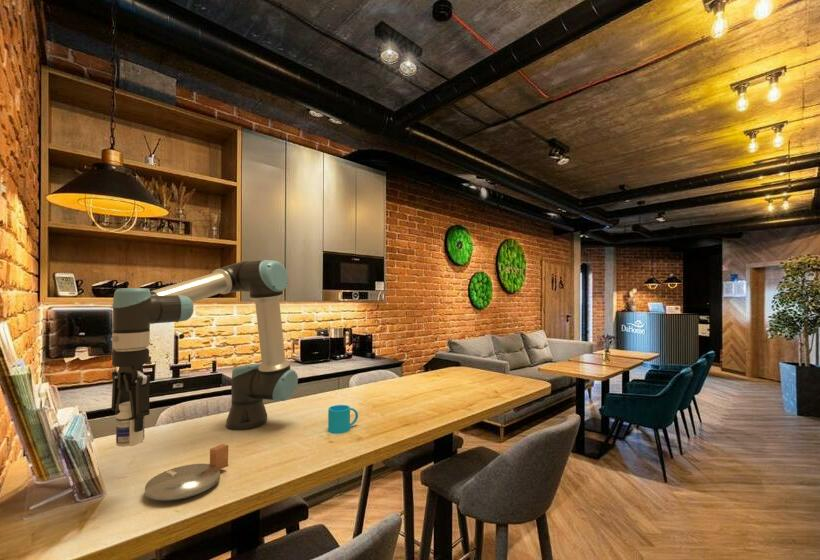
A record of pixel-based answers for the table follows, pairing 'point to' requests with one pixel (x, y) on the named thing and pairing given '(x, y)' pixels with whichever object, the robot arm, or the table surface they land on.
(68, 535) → the table surface
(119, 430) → the pill bottle
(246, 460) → the table surface
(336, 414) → the mug
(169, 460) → the table surface
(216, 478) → the disc
